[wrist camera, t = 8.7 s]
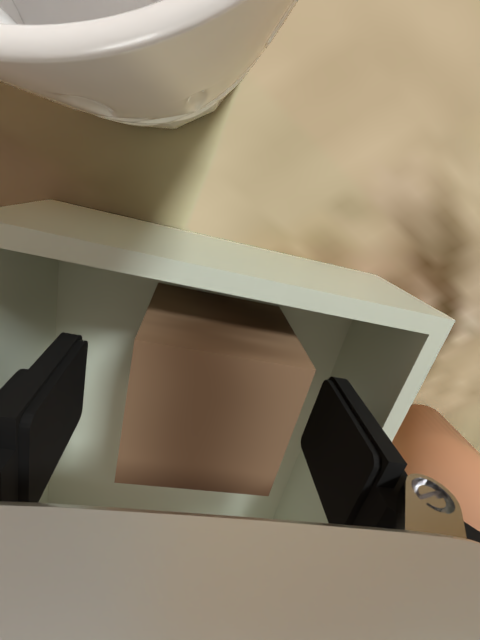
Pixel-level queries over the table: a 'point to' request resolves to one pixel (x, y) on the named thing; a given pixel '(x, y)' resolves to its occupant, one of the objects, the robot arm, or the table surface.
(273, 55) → the table surface
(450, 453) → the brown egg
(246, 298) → the tote
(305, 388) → the cube
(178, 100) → the white cup
